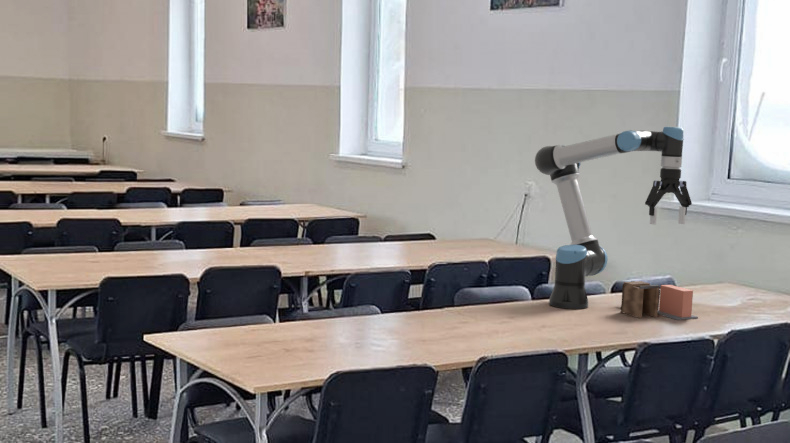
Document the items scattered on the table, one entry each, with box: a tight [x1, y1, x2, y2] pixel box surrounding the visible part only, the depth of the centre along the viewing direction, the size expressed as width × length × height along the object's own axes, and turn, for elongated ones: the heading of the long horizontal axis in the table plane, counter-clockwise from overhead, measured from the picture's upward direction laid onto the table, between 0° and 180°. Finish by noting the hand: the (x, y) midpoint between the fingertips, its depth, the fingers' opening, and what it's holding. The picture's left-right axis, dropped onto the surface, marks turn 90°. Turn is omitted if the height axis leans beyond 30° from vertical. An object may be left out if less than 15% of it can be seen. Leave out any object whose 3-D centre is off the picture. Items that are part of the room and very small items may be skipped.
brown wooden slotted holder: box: [620, 280, 660, 319], centre depth 373 cm, size 11×8×12 cm
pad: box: [657, 310, 699, 321], centre depth 374 cm, size 14×10×1 cm
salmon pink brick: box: [658, 284, 694, 317], centre depth 373 cm, size 13×4×10 cm, turn 24°
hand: (667, 224), depth 371 cm, fingers open, 13 cm apart
